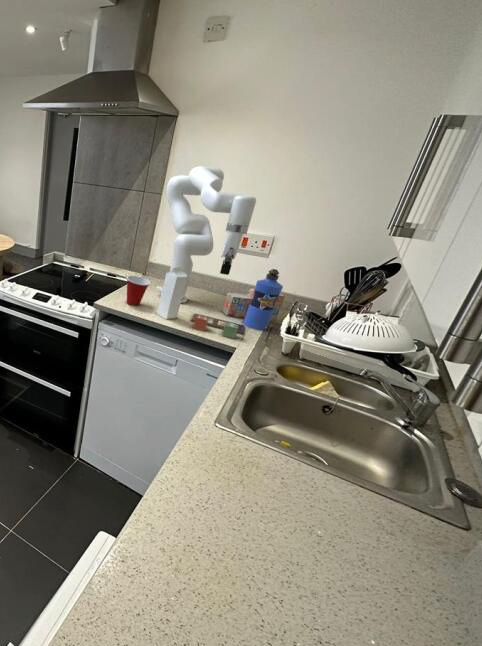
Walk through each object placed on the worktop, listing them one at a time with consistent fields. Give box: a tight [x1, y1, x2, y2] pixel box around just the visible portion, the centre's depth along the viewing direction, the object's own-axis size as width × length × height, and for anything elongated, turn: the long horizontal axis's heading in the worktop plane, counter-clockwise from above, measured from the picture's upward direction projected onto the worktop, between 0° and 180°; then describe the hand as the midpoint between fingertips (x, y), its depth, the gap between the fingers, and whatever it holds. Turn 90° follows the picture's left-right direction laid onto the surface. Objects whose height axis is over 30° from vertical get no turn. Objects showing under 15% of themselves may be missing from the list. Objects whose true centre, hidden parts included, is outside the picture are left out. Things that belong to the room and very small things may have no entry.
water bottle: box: [242, 268, 284, 331], centre depth 163 cm, size 9×9×25 cm
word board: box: [190, 313, 245, 335], centre depth 167 cm, size 20×10×1 cm, turn 59°
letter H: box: [192, 314, 209, 332], centre depth 160 cm, size 4×4×5 cm
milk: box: [156, 267, 187, 320], centre depth 166 cm, size 6×6×22 cm
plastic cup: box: [126, 275, 152, 307], centre depth 179 cm, size 11×11×12 cm
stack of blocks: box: [221, 288, 285, 322], centre depth 176 cm, size 21×6×12 cm, turn 84°
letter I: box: [221, 321, 238, 340], centre depth 156 cm, size 4×4×5 cm
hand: (224, 271), depth 158 cm, fingers open, 9 cm apart
